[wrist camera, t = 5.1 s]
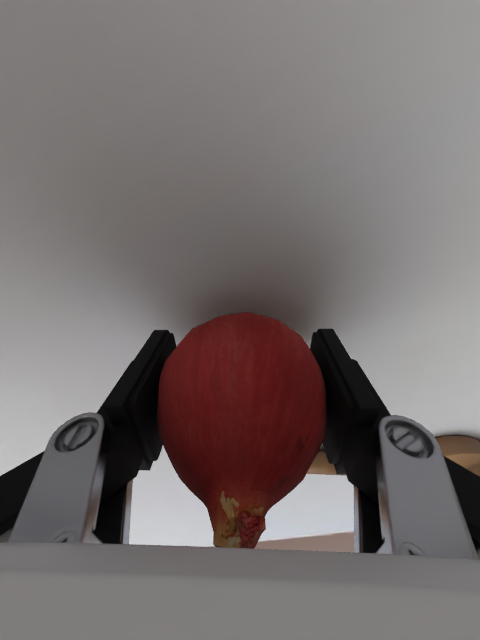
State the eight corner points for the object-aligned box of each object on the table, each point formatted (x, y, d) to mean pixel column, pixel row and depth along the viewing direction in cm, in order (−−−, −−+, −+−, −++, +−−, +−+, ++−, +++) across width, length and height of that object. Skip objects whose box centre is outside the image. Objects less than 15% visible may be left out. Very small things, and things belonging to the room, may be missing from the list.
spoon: (192, 466, 19) (188, 485, 17) (182, 426, 16) (176, 445, 15) (486, 478, 17) (504, 500, 16) (528, 437, 15) (552, 459, 13)
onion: (302, 372, 13) (368, 598, 6) (202, 382, 13) (151, 596, 6) (299, 273, 10) (429, 482, 3) (172, 290, 10) (16, 499, 3)
